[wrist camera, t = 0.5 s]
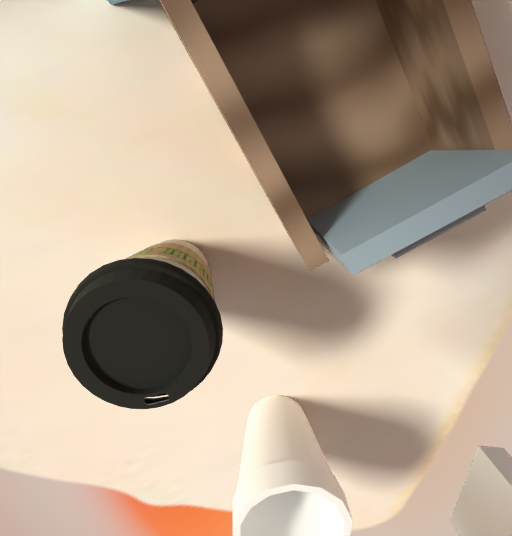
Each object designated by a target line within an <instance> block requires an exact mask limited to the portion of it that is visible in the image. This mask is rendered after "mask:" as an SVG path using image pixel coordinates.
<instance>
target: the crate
mask: <svg viewBox="0 0 512 536" xmlns="http://www.w3.org/2000/svg"><path fill="white" fill-rule="evenodd" d="M159 1H160V3H161V5H162V7H163V9H164V11H165V12H166V14H167V16H168V18H169V20H170V21H171V23H172V25H173V27H174V29H175V30H176V32H177V34H178V36H179V38H180V39H181V41H182V43H183V45H184V47H185V49H186V50H187V52H188V54H189V56H190V58H191V59H192V61H193V63H194V65H195V67H196V68H197V70H198V72H199V74H200V76H201V77H202V79H203V81H204V83H205V85H206V86H207V88H208V90H209V92H210V94H211V95H212V97H213V99H214V101H215V103H216V105H217V106H218V108H219V110H220V112H221V114H222V115H223V117H224V119H225V121H226V123H227V124H228V126H229V128H230V130H231V132H232V133H233V135H234V137H235V139H236V141H237V142H238V144H239V146H240V148H241V150H242V152H243V153H244V155H245V157H246V159H247V161H248V162H249V164H250V166H251V168H252V170H253V171H254V173H255V175H256V177H257V179H258V180H259V182H260V184H261V186H262V188H263V189H264V191H265V193H266V195H267V197H268V198H269V200H270V202H271V204H272V206H273V208H274V209H275V211H276V213H277V215H278V217H279V218H280V220H281V222H282V224H283V226H284V227H285V229H286V231H287V233H288V235H289V236H290V238H291V240H292V242H293V243H294V245H295V247H296V248H297V250H298V252H299V253H300V255H301V257H302V258H303V260H304V262H305V263H306V265H307V267H308V268H309V270H310V271H311V270H313V269H315V268H316V267H318V266H320V265H322V264H324V263H326V262H327V261H329V260H328V258H327V256H326V254H325V253H324V251H323V249H322V247H321V245H320V243H319V241H318V239H317V237H316V236H315V234H314V232H313V230H312V228H311V226H310V224H309V222H308V221H307V219H309V218H311V217H313V216H315V215H316V214H318V213H320V212H322V211H323V210H325V209H327V208H329V207H331V206H332V205H334V204H336V203H338V202H339V201H341V200H343V199H345V198H346V197H348V196H350V195H352V194H354V193H355V192H357V191H359V190H361V189H362V188H364V187H366V186H368V185H370V184H371V183H373V182H375V181H377V180H378V179H380V178H382V177H384V176H386V175H387V174H389V173H391V172H393V171H394V170H396V169H398V168H400V167H402V166H403V165H405V164H407V163H409V162H410V161H412V160H414V159H416V158H417V157H419V156H421V155H423V154H425V153H426V152H428V151H430V150H512V123H511V120H510V117H509V114H508V111H507V108H506V105H505V102H504V99H503V96H502V93H501V90H500V87H499V84H498V81H497V78H496V75H495V72H494V69H493V66H492V63H491V60H490V57H489V54H488V51H487V48H486V45H485V42H484V39H483V36H482V32H481V29H480V26H479V23H478V20H477V17H476V14H475V11H474V8H473V5H472V2H471V0H159Z"/></svg>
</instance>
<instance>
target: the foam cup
mask: <svg viewBox="0 0 512 536" xmlns="http://www.w3.org/2000/svg"><path fill="white" fill-rule="evenodd" d="M351 526H352V517H351V514H350V510H349V507H348V504H347V501H346V498H345V494H344V492H343V490H342V488H341V486H340V485H339V483H338V481H337V479H336V477H335V475H333V474H332V471H331V469H330V467H329V465H328V463H327V461H326V458H325V456H324V454H323V452H322V450H321V448H320V445H319V443H318V441H317V439H316V437H315V435H314V432H313V430H312V428H311V426H310V424H309V422H308V420H307V417H306V415H305V413H304V411H303V410H302V408H301V406H300V404H299V403H298V402H296V401H295V400H293V399H292V398H290V397H286V396H280V395H275V396H270V397H266V398H263V399H262V400H260V401H259V402H258V403H256V404H255V405H254V406H253V408H252V410H251V411H250V413H249V415H248V420H247V427H246V433H245V440H244V446H243V453H242V459H241V465H240V472H239V478H238V485H237V491H236V494H235V495H234V497H233V536H351Z"/></svg>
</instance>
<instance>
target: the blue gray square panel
mask: <svg viewBox="0 0 512 536" xmlns="http://www.w3.org/2000/svg"><path fill="white" fill-rule="evenodd" d="M511 190H512V150H430V151H428V152H426V153H425V154H423V155H421V156H419V157H417V158H416V159H414V160H412V161H410V162H409V163H407V164H405V165H403V166H402V167H400V168H398V169H396V170H394V171H393V172H391V173H389V174H387V175H386V176H384V177H382V178H380V179H378V180H377V181H375V182H373V183H371V184H370V185H368V186H366V187H364V188H362V189H361V190H359V191H357V192H355V193H354V194H352V195H350V196H348V197H346V198H345V199H343V200H341V201H339V202H338V203H336V204H334V205H332V206H331V207H329V208H327V209H325V210H323V211H322V212H320V213H318V214H316V215H315V216H313V217H311V218H309V219H307V221H308V222H309V224H310V226H311V228H312V230H313V232H314V234H315V236H316V237H317V238H318V239H319V240H320V241H321V242H322V244H323V245H324V246H325V247H326V248H327V249H328V250H329V251H330V252H331V253H332V254H333V255H334V257H335V258H336V259H337V260H338V261H339V262H340V263H341V264H342V265H343V266H344V267H345V269H346V270H347V271H348V272H349V273H350V274H351V275H352V276H353V275H355V274H356V273H358V272H360V271H362V270H364V269H366V268H368V267H369V266H371V265H373V264H375V263H377V262H379V261H381V260H382V259H384V258H386V257H388V256H390V255H392V256H394V257H395V258H397V257H399V256H401V255H403V254H405V253H407V252H408V251H410V250H412V249H414V248H416V247H418V246H420V245H422V244H423V243H425V242H427V241H429V240H431V239H433V238H435V237H436V236H438V235H440V234H442V233H444V232H446V231H448V230H449V229H451V228H453V227H455V226H457V225H459V224H461V223H463V222H464V221H466V220H468V219H470V218H472V217H474V216H476V215H477V214H479V213H481V212H483V211H485V210H486V209H485V206H484V205H485V204H487V203H488V202H490V201H492V200H494V199H496V198H498V197H500V196H501V195H503V194H505V193H507V192H509V191H511Z"/></svg>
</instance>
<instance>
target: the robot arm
mask: <svg viewBox="0 0 512 536" xmlns="http://www.w3.org/2000/svg"><path fill="white" fill-rule="evenodd" d="M450 521H451V522H452V524H453V526H454V528H455V529H456V531H457V533H458V534H459V536H512V457H511V456H510V455H509V454H508V452H507V451H506V450H505V449H504V448H498V447H487V446H478V448H477V451H476V453H475V456H474V458H473V461H472V464H471V466H470V469H469V471H468V474H467V477H466V479H465V482H464V485H463V487H462V490H461V493H460V495H459V498H458V500H457V503H456V506H455V508H454V511H453V514H452V516H451V519H450Z"/></svg>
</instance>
